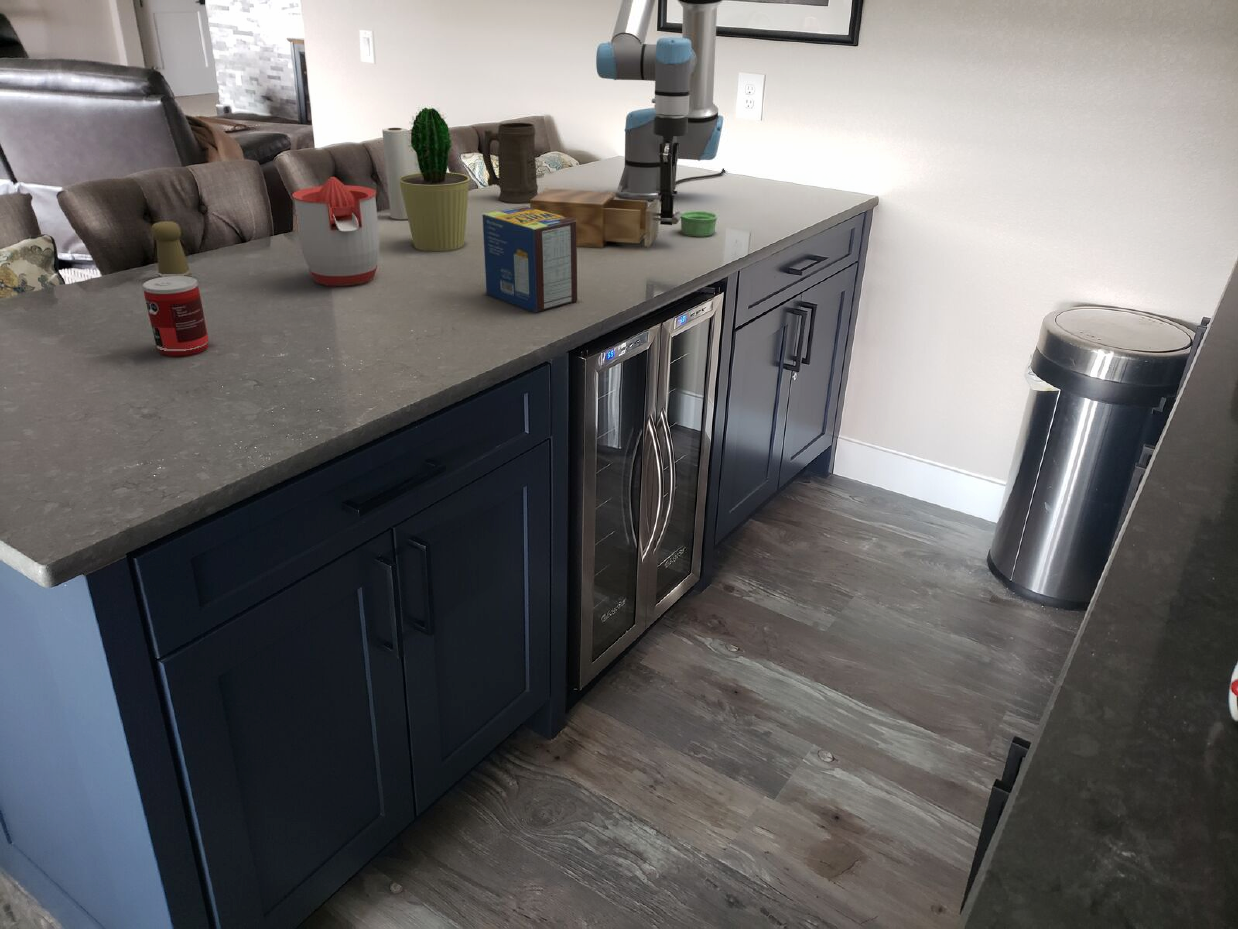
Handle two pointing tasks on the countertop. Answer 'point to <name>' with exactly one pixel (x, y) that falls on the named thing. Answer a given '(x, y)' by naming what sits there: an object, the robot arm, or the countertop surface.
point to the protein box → (530, 257)
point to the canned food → (176, 314)
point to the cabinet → (577, 211)
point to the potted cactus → (434, 187)
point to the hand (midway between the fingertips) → (666, 223)
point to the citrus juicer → (338, 232)
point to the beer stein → (513, 161)
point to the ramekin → (698, 223)
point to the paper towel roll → (398, 166)
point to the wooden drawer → (633, 220)
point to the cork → (169, 248)
